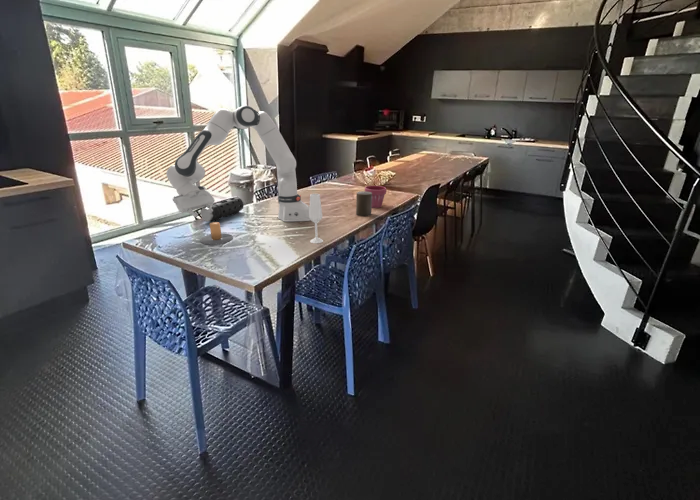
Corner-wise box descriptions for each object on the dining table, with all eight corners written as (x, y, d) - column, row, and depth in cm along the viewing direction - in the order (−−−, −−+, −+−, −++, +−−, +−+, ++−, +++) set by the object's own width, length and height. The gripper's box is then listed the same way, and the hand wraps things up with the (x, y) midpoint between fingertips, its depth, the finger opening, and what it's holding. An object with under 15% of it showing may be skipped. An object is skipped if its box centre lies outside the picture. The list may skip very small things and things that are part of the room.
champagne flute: (307, 242, 191) (305, 195, 182) (313, 238, 197) (311, 192, 188) (319, 244, 189) (318, 196, 180) (325, 239, 195) (324, 193, 186)
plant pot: (389, 205, 259) (389, 186, 254) (379, 210, 248) (380, 190, 243) (371, 202, 266) (371, 184, 261) (360, 207, 255) (360, 188, 250)
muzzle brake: (244, 213, 242) (243, 197, 239) (213, 225, 219) (210, 207, 215) (233, 211, 246) (231, 195, 242) (200, 223, 222) (198, 206, 219)
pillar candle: (363, 217, 232) (364, 193, 227) (352, 213, 239) (353, 190, 234) (374, 214, 238) (375, 191, 233) (364, 211, 245) (364, 188, 240)
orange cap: (223, 236, 198) (221, 222, 195) (219, 240, 193) (217, 225, 190) (214, 236, 198) (212, 222, 195) (209, 239, 194) (207, 224, 191)
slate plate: (237, 234, 202) (237, 233, 202) (225, 245, 187) (225, 244, 187) (209, 233, 204) (209, 232, 204) (194, 244, 189) (194, 243, 189)
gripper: (172, 193, 186) (188, 215, 184) (207, 186, 202) (221, 206, 201) (168, 201, 189) (184, 222, 188) (202, 193, 206) (217, 213, 205)
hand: (204, 214), depth 195 cm, fingers open, 8 cm apart
